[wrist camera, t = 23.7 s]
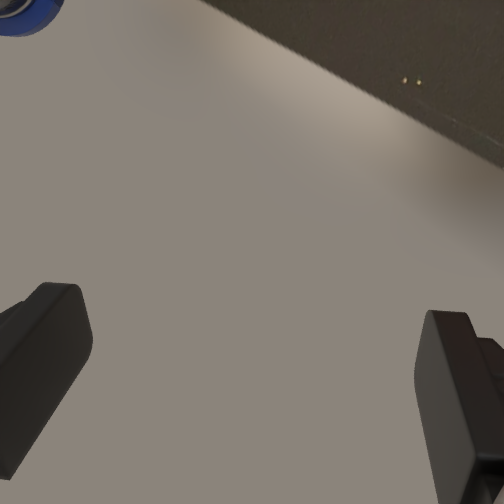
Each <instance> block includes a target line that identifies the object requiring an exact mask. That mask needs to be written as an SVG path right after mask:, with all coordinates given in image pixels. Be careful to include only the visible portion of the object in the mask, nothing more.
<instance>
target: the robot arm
mask: <svg viewBox="0 0 504 504" xmlns="http://www.w3.org/2000/svg"><path fill="white" fill-rule="evenodd" d="M35 1H36V0H0V18H4V19H6V18H12V17H16V16H18V15H20V14H22V13H24V12H25V11H27V10H28V9H29V8H30V7H31V6H32V5H33V3H34V2H35ZM92 343H93V336H92V331H91V327H90V323H89V319H88V315H87V311H86V307H85V303H84V299H83V295H82V291H81V289H80V288H79V286H78V285H76V284H66V283H52V282H45V283H42V284H41V285H39V286H38V287H37V289H36V290H35V291H34V292H33V293H32V294H31V295H30V296H29V297H28V298H27V299H26V300H25V301H21V302H19V303H17V304H15V305H14V306H13V307H10V308H9V309H7V310H5V311H4V312H2V313H0V479H4V480H10V479H11V478H12V476H13V474H14V473H15V472H16V470H17V468H18V467H19V465H20V464H21V462H22V461H23V459H24V457H25V456H26V454H27V453H28V451H29V450H30V448H31V447H32V445H33V443H34V442H35V441H36V439H37V437H38V436H39V434H40V433H41V431H42V430H43V428H44V427H45V425H46V424H47V422H48V420H49V419H50V417H51V416H52V414H53V413H54V411H55V410H56V408H57V406H58V405H59V403H60V402H61V400H62V399H63V397H64V396H65V394H66V393H67V391H68V390H69V388H70V386H71V385H72V383H73V382H74V380H75V379H76V377H77V375H78V374H79V373H80V371H81V369H82V368H83V366H84V365H85V363H86V361H87V360H88V358H89V356H90V353H91V349H92ZM414 383H415V392H416V397H417V402H418V407H419V411H420V416H421V421H422V426H423V431H424V435H425V440H426V445H427V450H428V455H429V459H430V464H431V469H432V473H433V479H434V483H435V488H436V493H437V498H438V503H439V504H504V349H503V348H502V347H501V346H500V345H499V344H498V343H497V342H495V341H494V340H493V339H491V338H478V337H477V336H476V334H475V331H474V329H473V326H472V324H471V321H470V319H469V317H468V315H467V314H466V313H465V312H451V311H437V310H428V311H427V313H426V316H425V320H424V324H423V329H422V334H421V339H420V343H419V348H418V352H417V358H416V362H415V370H414Z"/></svg>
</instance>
